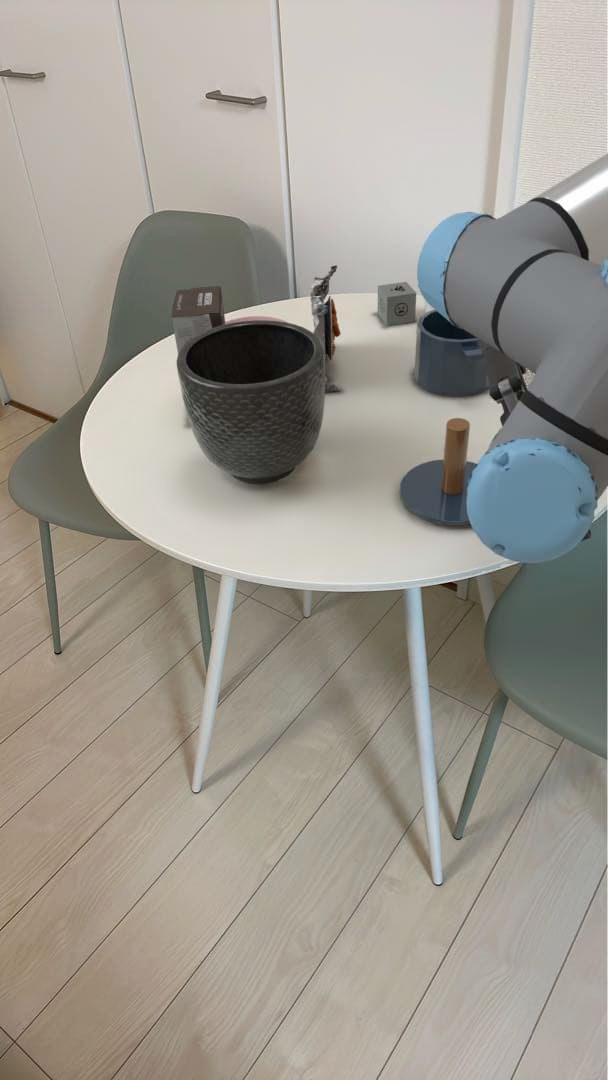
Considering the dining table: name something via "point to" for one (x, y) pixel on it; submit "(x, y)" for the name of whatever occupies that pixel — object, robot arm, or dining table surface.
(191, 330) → the coffee box
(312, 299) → the meal
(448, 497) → the lid
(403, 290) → the dice cube
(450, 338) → the pot
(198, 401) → the planter
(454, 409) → the dining table surface
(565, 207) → the robot arm
